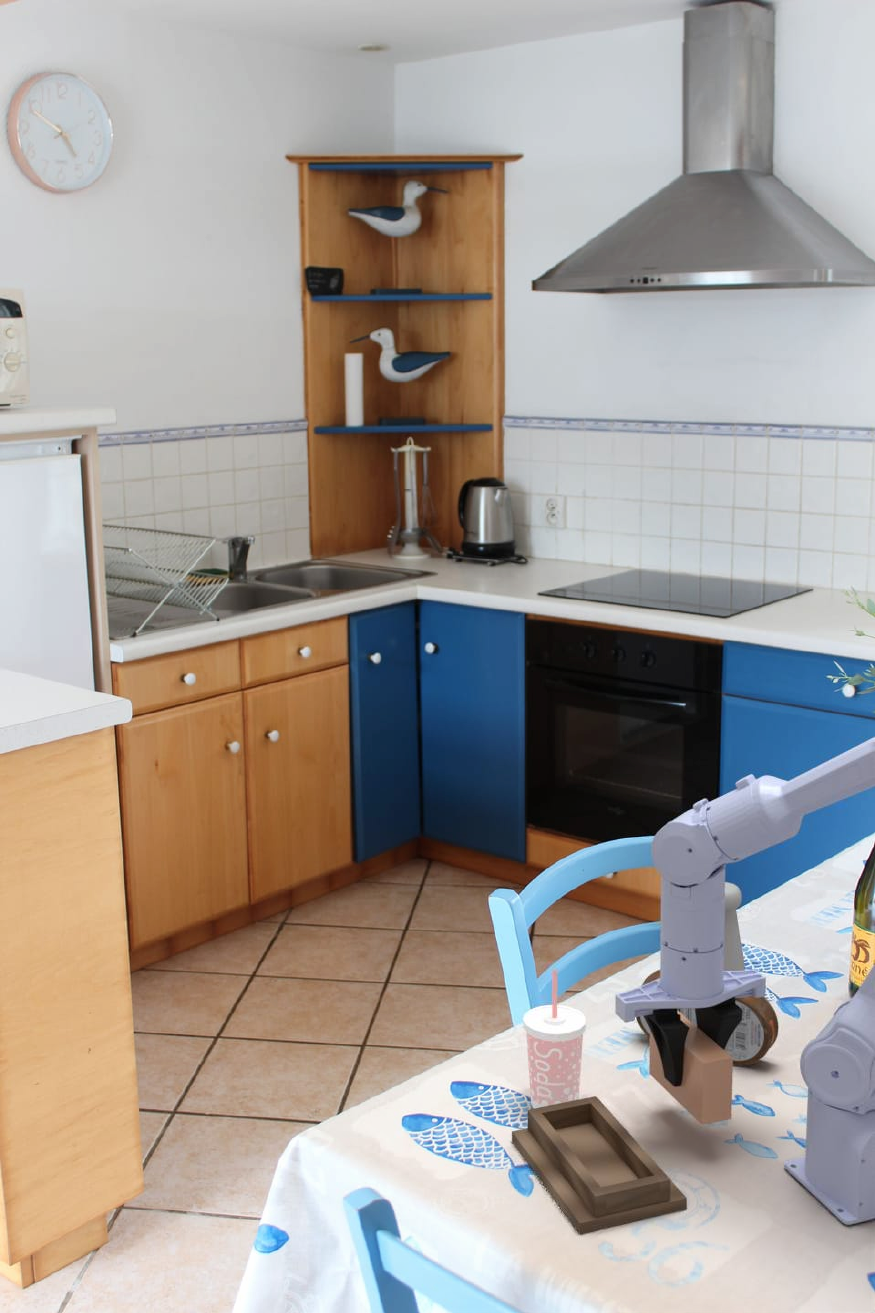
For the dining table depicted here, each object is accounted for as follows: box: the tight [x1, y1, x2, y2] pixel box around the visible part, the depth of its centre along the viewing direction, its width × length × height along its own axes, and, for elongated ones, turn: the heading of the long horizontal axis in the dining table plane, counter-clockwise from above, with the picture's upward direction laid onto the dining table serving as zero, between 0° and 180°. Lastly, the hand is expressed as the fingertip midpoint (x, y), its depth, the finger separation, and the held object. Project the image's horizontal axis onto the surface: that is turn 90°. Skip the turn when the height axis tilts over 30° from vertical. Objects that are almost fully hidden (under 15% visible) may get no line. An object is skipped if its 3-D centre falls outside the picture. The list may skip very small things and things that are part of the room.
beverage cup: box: [522, 969, 587, 1109], centre depth 132 cm, size 6×6×14 cm
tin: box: [635, 969, 779, 1067], centre depth 142 cm, size 15×3×8 cm, turn 60°
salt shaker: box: [724, 881, 746, 971], centre depth 156 cm, size 6×6×13 cm
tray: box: [511, 1095, 688, 1235], centre depth 121 cm, size 15×10×3 cm, turn 19°
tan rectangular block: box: [648, 1011, 734, 1126], centre depth 127 cm, size 10×3×6 cm, turn 19°
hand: (690, 1077), depth 127 cm, fingers closed on tan rectangular block, 3 cm apart
